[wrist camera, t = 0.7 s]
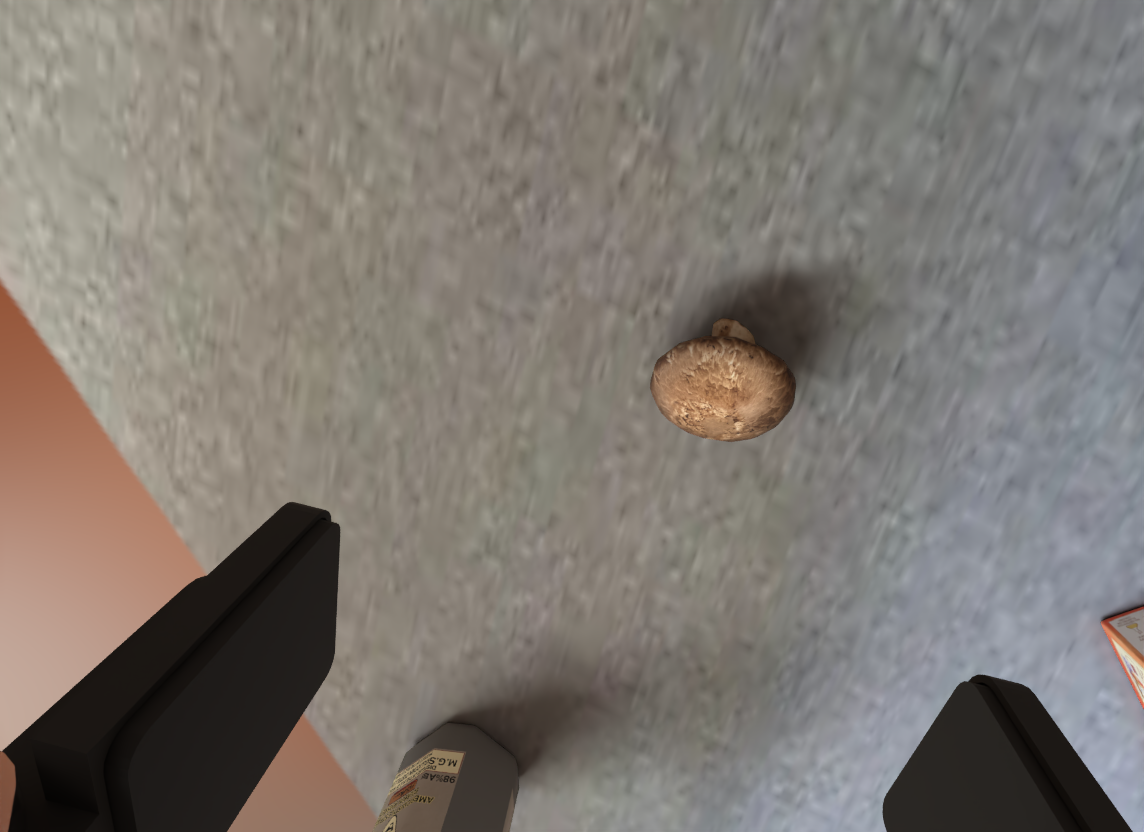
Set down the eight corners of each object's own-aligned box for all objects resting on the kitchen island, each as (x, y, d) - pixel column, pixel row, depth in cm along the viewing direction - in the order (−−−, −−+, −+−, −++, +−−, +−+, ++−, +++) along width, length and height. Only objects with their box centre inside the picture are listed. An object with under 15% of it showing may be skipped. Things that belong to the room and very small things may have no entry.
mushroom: (739, 271, 31) (734, 368, 28) (823, 344, 35) (827, 437, 32) (632, 330, 37) (619, 416, 34) (714, 387, 41) (709, 469, 38)
